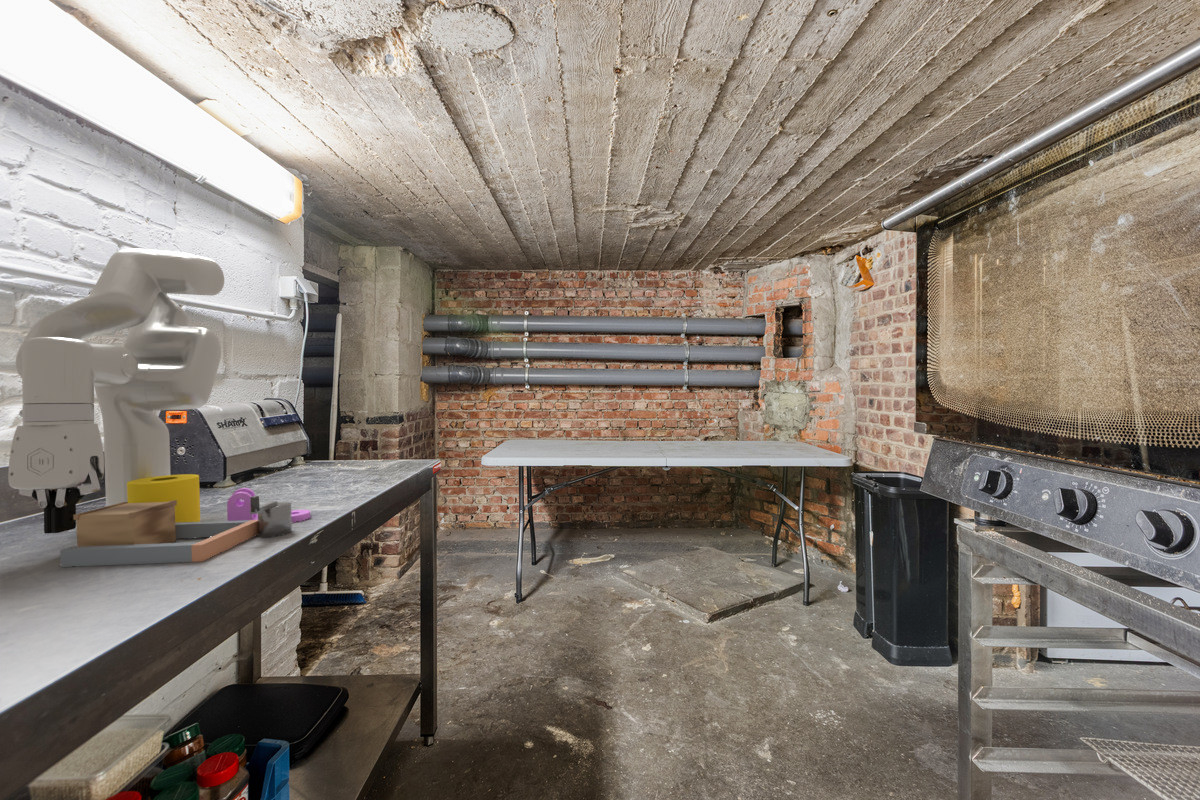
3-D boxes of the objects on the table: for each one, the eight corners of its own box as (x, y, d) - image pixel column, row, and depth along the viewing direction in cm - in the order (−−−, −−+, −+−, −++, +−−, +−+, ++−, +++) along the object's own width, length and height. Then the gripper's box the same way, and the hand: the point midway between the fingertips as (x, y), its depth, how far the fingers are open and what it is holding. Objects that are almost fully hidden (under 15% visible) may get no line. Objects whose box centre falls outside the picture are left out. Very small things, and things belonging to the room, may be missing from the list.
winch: (269, 529, 88) (268, 487, 87) (297, 528, 88) (296, 486, 88) (237, 544, 79) (236, 498, 79) (269, 543, 80) (268, 497, 79)
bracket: (227, 531, 87) (226, 494, 87) (232, 524, 92) (231, 489, 92) (310, 521, 94) (309, 486, 94) (310, 514, 99) (309, 481, 98)
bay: (143, 537, 83) (143, 523, 83) (260, 533, 85) (260, 519, 85) (60, 567, 69) (60, 550, 69) (202, 561, 71) (202, 544, 71)
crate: (125, 543, 81) (123, 501, 80) (177, 541, 81) (176, 500, 81) (74, 561, 72) (73, 514, 72) (134, 559, 73) (132, 512, 73)
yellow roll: (203, 518, 96) (202, 472, 96) (196, 530, 88) (195, 479, 88) (135, 526, 91) (134, 478, 90) (121, 540, 82) (120, 486, 82)
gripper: (-22, 417, 71) (-21, 540, 70) (87, 414, 72) (88, 535, 72) (34, 416, 78) (34, 527, 78) (131, 414, 80) (132, 523, 79)
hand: (60, 530), depth 75 cm, fingers closed
